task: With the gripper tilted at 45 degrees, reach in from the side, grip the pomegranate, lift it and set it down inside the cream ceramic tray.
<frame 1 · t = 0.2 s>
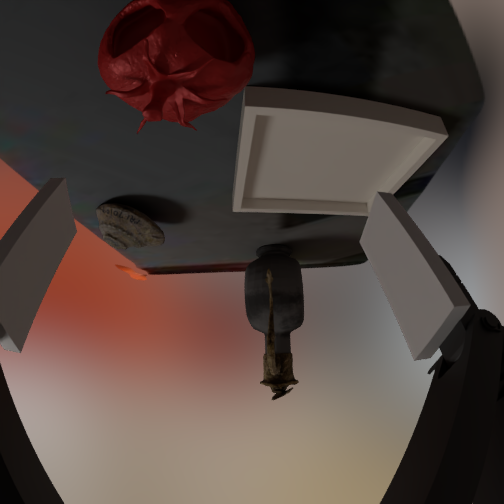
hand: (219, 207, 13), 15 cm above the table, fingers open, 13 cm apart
fossilized seashell: (134, 211, 48), on the table
pitcher: (272, 246, 65), on the table
tray: (325, 157, 35), on the table
pomegranate: (181, 27, 18), on the table
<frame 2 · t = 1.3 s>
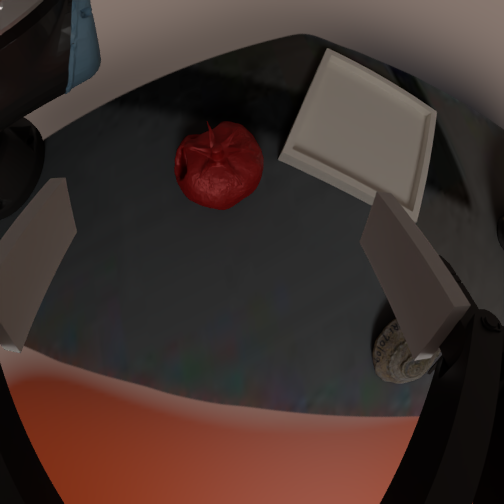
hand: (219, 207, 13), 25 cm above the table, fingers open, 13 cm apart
fossilized seashell: (404, 343, 40), on the table
pitcher: (502, 233, 45), on the table
tray: (365, 133, 42), on the table
pomegranate: (217, 175, 39), on the table
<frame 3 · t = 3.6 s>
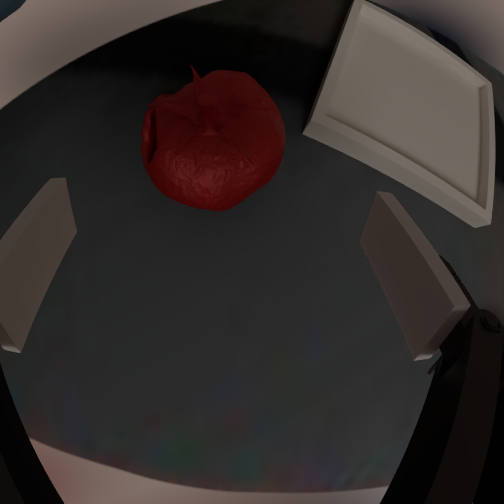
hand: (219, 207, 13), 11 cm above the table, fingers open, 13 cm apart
tray: (415, 103, 28), on the table
pomegranate: (211, 158, 25), on the table
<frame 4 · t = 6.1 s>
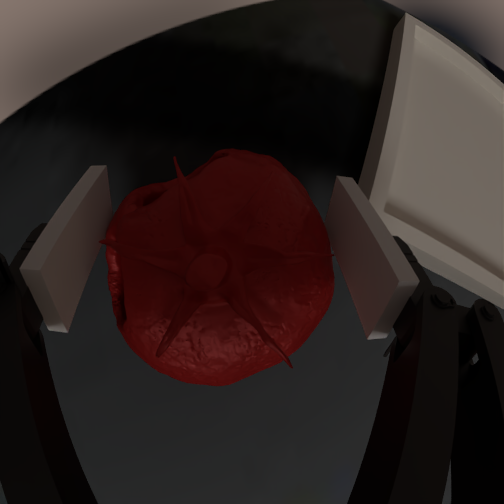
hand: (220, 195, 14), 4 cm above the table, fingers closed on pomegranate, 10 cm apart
tray: (477, 167, 21), on the table
pomegranate: (214, 272, 17), on the table, touching gripper
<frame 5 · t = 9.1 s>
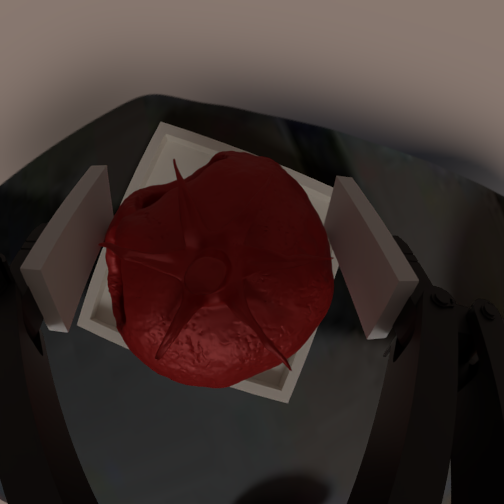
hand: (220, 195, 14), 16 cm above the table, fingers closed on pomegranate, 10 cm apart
tray: (219, 262, 30), on the table
pomegranate: (214, 273, 17), point 12 cm above the table, touching gripper
when the fingers open (6 cm above the table, at t = 12.1 s): pomegranate drops 1 cm, resting on tray.
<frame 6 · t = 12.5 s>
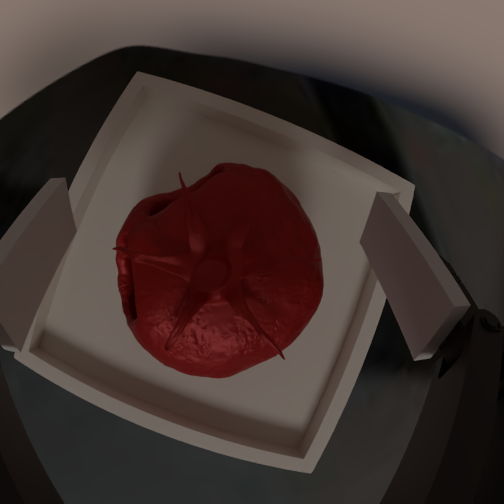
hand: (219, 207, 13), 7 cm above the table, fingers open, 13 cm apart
tray: (215, 273, 20), on the table
pomegranate: (215, 274, 19), point 1 cm above the table, touching tray
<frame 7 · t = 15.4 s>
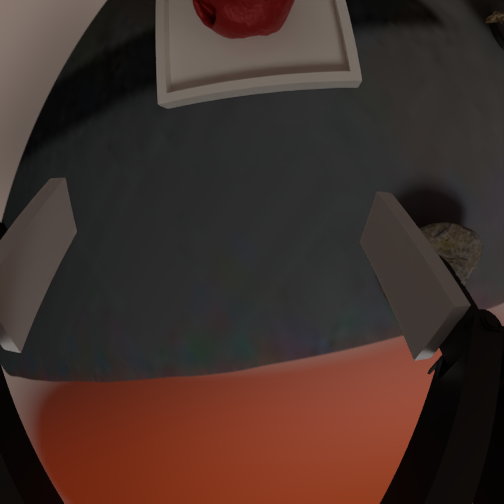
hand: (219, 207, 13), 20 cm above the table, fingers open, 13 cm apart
fossilized seashell: (426, 263, 31), on the table
tray: (250, 14, 28), on the table
pomegranate: (249, 11, 27), point 1 cm above the table, touching tray
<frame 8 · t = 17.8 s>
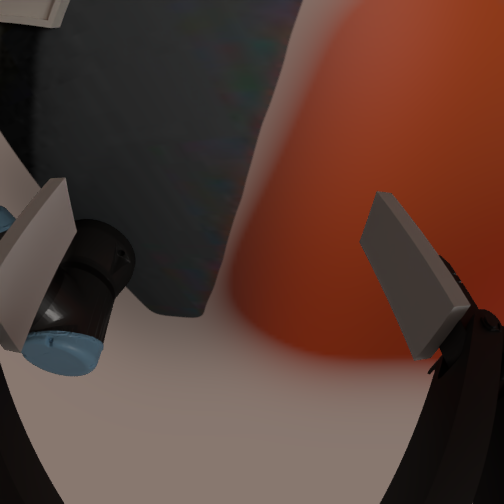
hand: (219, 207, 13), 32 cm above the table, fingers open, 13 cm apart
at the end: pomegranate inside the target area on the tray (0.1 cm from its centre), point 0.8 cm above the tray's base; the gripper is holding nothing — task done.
